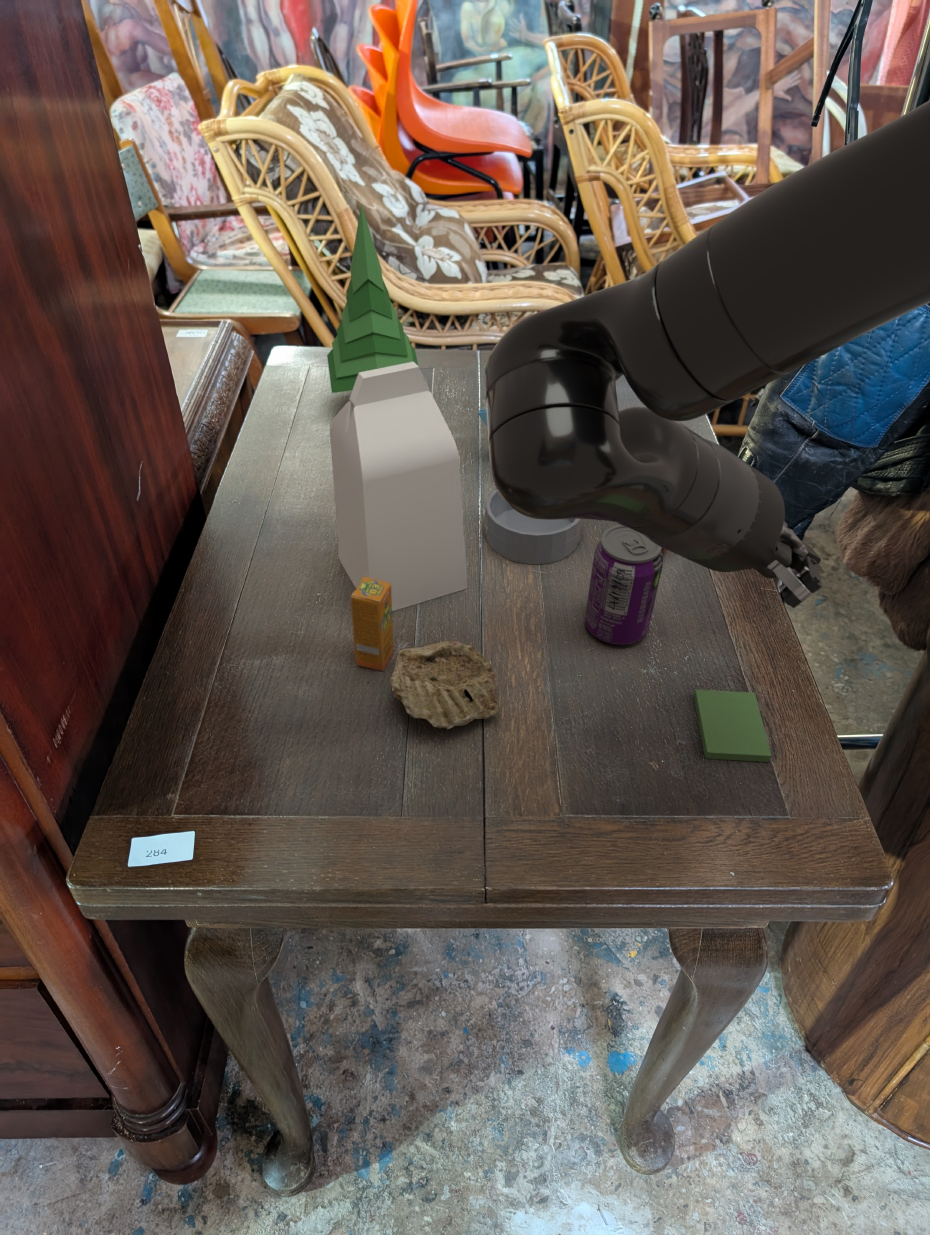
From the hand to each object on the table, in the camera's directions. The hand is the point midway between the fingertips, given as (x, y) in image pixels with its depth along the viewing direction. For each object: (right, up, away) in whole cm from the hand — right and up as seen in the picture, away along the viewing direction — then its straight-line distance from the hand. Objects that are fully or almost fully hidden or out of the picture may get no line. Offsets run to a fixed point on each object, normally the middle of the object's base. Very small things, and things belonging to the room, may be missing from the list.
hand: (806, 562), depth 66 cm
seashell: (-30, -13, +15) cm, 36 cm away
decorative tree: (-42, +28, +60) cm, 78 cm away
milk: (-36, +1, +30) cm, 47 cm away
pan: (-20, +6, +36) cm, 41 cm away
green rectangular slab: (-2, -15, +13) cm, 20 cm away
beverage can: (-11, -6, +23) cm, 27 cm away
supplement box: (-38, -9, +20) cm, 44 cm away
